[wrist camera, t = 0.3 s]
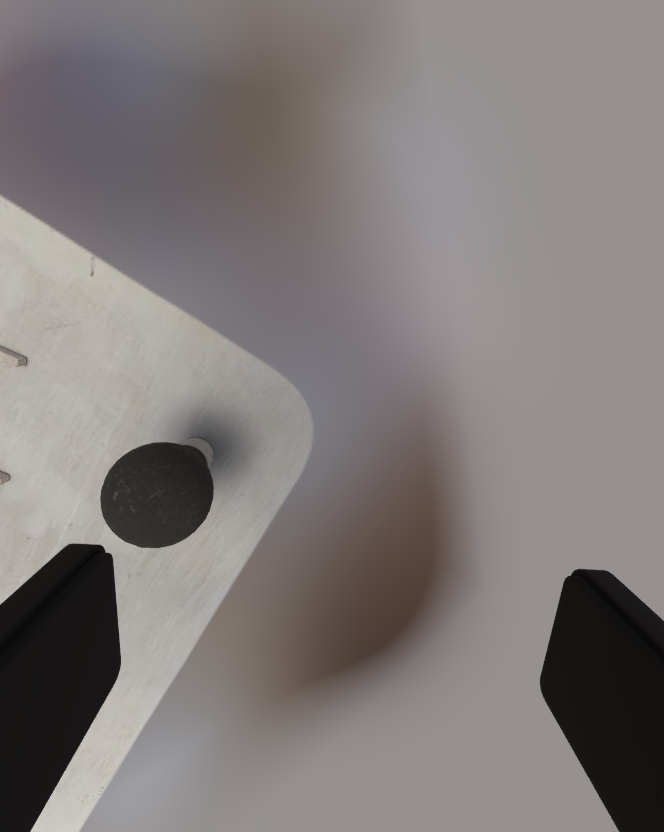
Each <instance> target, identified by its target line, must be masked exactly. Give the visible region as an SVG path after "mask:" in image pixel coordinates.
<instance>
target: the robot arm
mask: <svg viewBox="0 0 664 832" xmlns="http://www.w3.org/2000/svg"><path fill="white" fill-rule="evenodd" d="M120 666H121V654H120V641H119V629H118V616H117V604H116V592H115V579H114V567H113V558H112V555H111V554H110V553H105V549H104V548H103V546H101V545H91V544H69V545H67V546H66V547H64V548H63V549H62V550H61V551H60V552H59V553H58V554H57V555H55V556H54V557H53V558H52V559H51V560H50V561H49V562H48V563H47V564H45V565H44V566H43V567H42V568H41V569H40V570H39V571H38V572H36V573H35V574H34V575H33V576H32V577H31V578H30V579H29V580H28V581H26V582H25V583H24V584H23V585H22V586H21V587H20V588H19V589H17V590H16V591H15V592H14V593H13V594H12V595H11V596H10V597H9V598H7V599H6V600H5V601H4V602H3V603H2V604H1V605H0V832H30V831H31V829H32V828H33V826H34V824H35V822H36V821H37V819H38V817H39V815H40V814H41V812H42V810H43V808H44V807H45V805H46V803H47V801H48V800H49V798H50V796H51V794H52V793H53V791H54V789H55V787H56V786H57V784H58V782H59V780H60V778H61V777H62V775H63V773H64V771H65V770H66V768H67V766H68V764H69V763H70V761H71V759H72V757H73V756H74V754H75V752H76V750H77V749H78V747H79V745H80V743H81V742H82V740H83V738H84V736H85V735H86V733H87V731H88V729H89V728H90V726H91V724H92V722H93V721H94V719H95V717H96V715H97V714H98V712H99V710H100V708H101V707H102V705H103V703H104V701H105V700H106V698H107V696H108V694H109V693H110V691H111V689H112V687H113V686H114V684H115V682H116V680H117V677H118V674H119V671H120ZM540 687H541V692H542V694H543V697H544V699H545V701H546V703H547V705H548V707H549V708H550V710H551V712H552V714H553V716H554V717H555V719H556V721H557V723H558V724H559V726H560V728H561V729H562V731H563V733H564V735H565V737H566V738H567V740H568V742H569V744H570V746H571V747H572V749H573V751H574V753H575V754H576V756H577V758H578V760H579V761H580V763H581V765H582V767H583V768H584V770H585V772H586V774H587V776H588V777H589V779H590V781H591V782H592V784H593V786H594V788H595V790H596V791H597V793H598V795H599V797H600V798H601V800H602V802H603V804H604V806H605V807H606V809H607V811H608V813H609V814H610V816H611V818H612V820H613V821H614V823H615V825H616V827H617V829H618V830H619V832H664V621H663V620H662V619H661V618H660V617H659V616H658V615H657V614H655V613H654V612H653V611H652V610H651V609H650V608H649V607H648V606H647V605H646V604H645V603H643V602H642V601H641V600H640V599H639V598H638V597H637V596H636V595H635V594H634V593H632V592H631V591H630V590H629V589H628V588H627V587H626V586H625V585H624V584H623V583H621V582H620V581H619V580H618V579H617V578H616V577H615V576H614V575H613V574H611V573H610V572H608V571H604V570H586V569H578V570H575V571H574V572H573V573H572V575H571V576H568V577H567V578H566V579H565V581H564V584H563V588H562V592H561V596H560V600H559V604H558V608H557V612H556V616H555V620H554V624H553V628H552V633H551V636H550V640H549V644H548V649H547V652H546V657H545V660H544V665H543V669H542V673H541V677H540Z"/></svg>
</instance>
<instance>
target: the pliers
mask: <svg viewBox="0 0 664 832" xmlns="http://www.w3.org/2000/svg"><path fill="white" fill-rule="evenodd" d="M26 359H27V358H24V357H22V356H20V355H18V354H16V353H14V352H12V351H9V350H7V349H5V348H2V347H0V363H4V364H9V365H13V366H23V365H26ZM8 480H9V475H8V474H5V473H2V472H0V485H1V484H3V483H5V482H7V481H8Z"/></svg>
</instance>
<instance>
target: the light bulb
mask: <svg viewBox="0 0 664 832" xmlns="http://www.w3.org/2000/svg"><path fill="white" fill-rule="evenodd" d="M212 460H213V450H212V448H211V446H210V445H209V444H208V443H207V442H206V441H204V440H202V439H199V438H191V439H188V440H186V441H184V442H183V443H181V444H180V445H179V444H175V443H169V442H162V443H151V444H146V445H143V446H140V447H138V448H136V449H133V450H131V451H130V452H128V453H127V454H125V455H124V456H123V457H121V458H120V459H119V460H118V461H117V462H116V463H115V464H114V465H113V467H112V468H111V469H110V470H109V472H108V474H107V476H106V478H105V481H104V484H103V486H102V490H101V498H100V499H101V509H102V513H103V517H104V519H105V521H106V523H107V525H108V526H109V527H110V529H111V530H112V531H113V532H114V533H115V534H116V535H117V536H118V537H119V538H121V539H122V540H124V541H125V542H127V543H130V544H133V545H136V546H138V547H141V548H160V547H166V546H171V545H173V544H176V543H178V542H180V541H182V540H184V539H186V538H187V537H188V536H190V535H191V534H192V533H194V532H195V531H196V530H197V528H198V527H199V526H200V525H201V524H202V523H203V521H204V520H205V519H206V517H207V515H208V513H209V511H210V507H211V504H212V500H213V488H214V487H213V479H212V476H211V473H210V471H209V467H210V465H211V463H212Z"/></svg>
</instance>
